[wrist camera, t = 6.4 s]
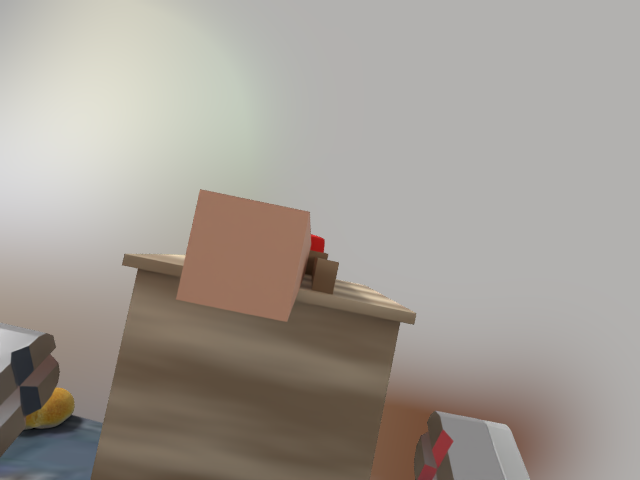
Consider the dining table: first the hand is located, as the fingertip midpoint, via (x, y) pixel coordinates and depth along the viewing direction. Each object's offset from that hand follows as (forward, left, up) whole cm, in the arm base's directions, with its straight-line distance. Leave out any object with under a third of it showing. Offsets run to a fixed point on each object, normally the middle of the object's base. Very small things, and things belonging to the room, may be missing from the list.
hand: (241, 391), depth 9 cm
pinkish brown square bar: (+10, +7, +2) cm, 12 cm away
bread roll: (+24, +49, -25) cm, 60 cm away
